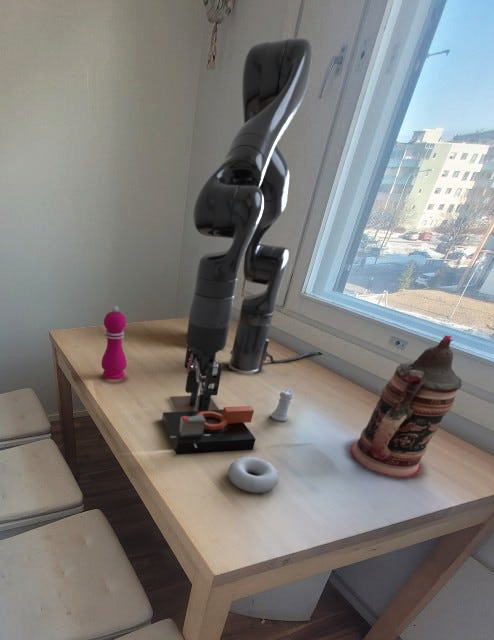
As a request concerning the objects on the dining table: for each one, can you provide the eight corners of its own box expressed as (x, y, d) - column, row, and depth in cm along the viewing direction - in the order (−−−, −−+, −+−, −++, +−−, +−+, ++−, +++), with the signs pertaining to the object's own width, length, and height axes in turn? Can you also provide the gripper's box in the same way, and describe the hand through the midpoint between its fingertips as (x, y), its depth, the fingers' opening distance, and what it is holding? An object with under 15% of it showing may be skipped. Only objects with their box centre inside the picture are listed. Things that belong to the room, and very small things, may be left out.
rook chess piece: (287, 418, 106) (297, 389, 101) (287, 426, 102) (297, 397, 97) (269, 415, 107) (278, 386, 102) (268, 423, 104) (277, 393, 98)
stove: (230, 419, 104) (233, 408, 102) (256, 455, 92) (259, 443, 90) (157, 423, 102) (158, 411, 100) (173, 460, 90) (175, 448, 88)
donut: (265, 466, 89) (220, 467, 88) (270, 453, 87) (224, 453, 86) (283, 496, 82) (234, 496, 81) (288, 482, 80) (238, 483, 79)
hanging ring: (200, 430, 94) (203, 418, 92) (191, 415, 99) (193, 403, 97) (254, 427, 96) (258, 415, 94) (243, 413, 101) (246, 401, 99)
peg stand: (208, 398, 113) (216, 353, 105) (220, 416, 106) (230, 369, 98) (169, 399, 112) (174, 354, 104) (178, 418, 104) (185, 370, 96)
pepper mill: (123, 384, 118) (126, 310, 105) (98, 382, 119) (98, 308, 106) (127, 374, 123) (131, 303, 110) (104, 372, 124) (105, 300, 111)
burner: (221, 412, 101) (221, 412, 101) (235, 431, 94) (235, 431, 94) (186, 414, 100) (186, 413, 100) (197, 433, 93) (197, 433, 93)
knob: (199, 433, 93) (203, 414, 90) (202, 437, 92) (205, 418, 88) (178, 434, 92) (181, 415, 89) (180, 439, 91) (183, 419, 88)
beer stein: (389, 449, 100) (320, 445, 98) (453, 328, 85) (373, 318, 83) (439, 485, 87) (360, 481, 84) (526, 348, 71) (433, 338, 69)
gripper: (243, 332, 71) (224, 416, 81) (216, 308, 82) (202, 385, 92) (202, 333, 70) (188, 418, 80) (179, 308, 81) (170, 387, 91)
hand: (196, 401), depth 86 cm, fingers open, 8 cm apart
